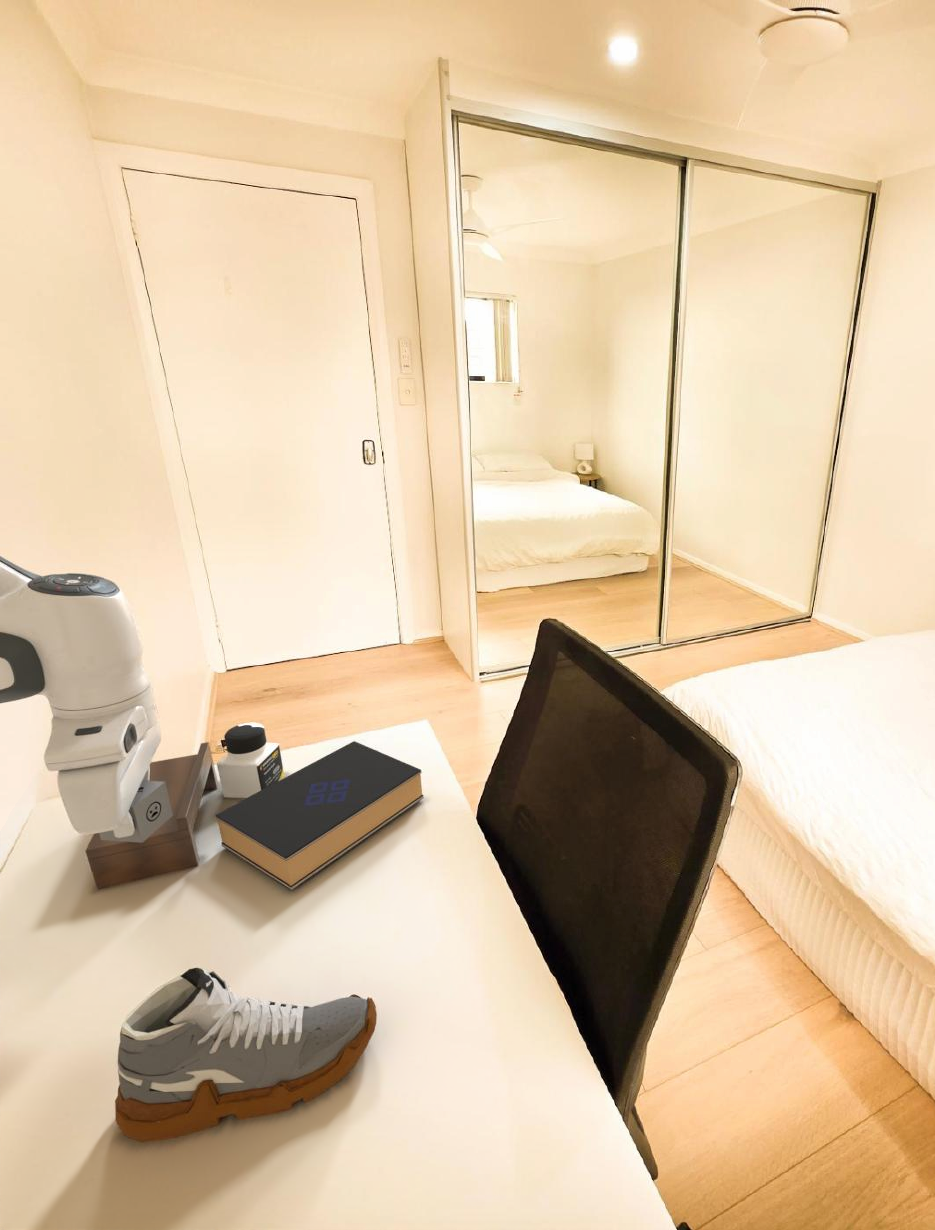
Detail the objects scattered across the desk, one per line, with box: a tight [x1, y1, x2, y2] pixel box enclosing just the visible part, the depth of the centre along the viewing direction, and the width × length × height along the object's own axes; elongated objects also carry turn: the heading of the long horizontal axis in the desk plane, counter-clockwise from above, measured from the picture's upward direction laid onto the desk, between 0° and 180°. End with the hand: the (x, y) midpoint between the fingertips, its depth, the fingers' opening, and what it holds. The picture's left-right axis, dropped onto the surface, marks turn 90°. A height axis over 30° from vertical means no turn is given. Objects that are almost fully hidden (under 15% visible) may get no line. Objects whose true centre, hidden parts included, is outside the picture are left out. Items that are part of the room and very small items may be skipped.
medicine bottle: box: [216, 722, 285, 799], centre depth 107 cm, size 7×7×12 cm
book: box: [214, 740, 425, 891], centre depth 99 cm, size 17×25×7 cm
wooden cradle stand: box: [84, 741, 219, 891], centre depth 96 cm, size 12×22×9 cm, turn 25°
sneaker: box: [114, 967, 378, 1143], centre depth 61 cm, size 9×24×15 cm, turn 107°
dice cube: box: [99, 780, 173, 843], centre depth 73 cm, size 5×5×5 cm
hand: (134, 815), depth 73 cm, fingers closed on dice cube, 5 cm apart
